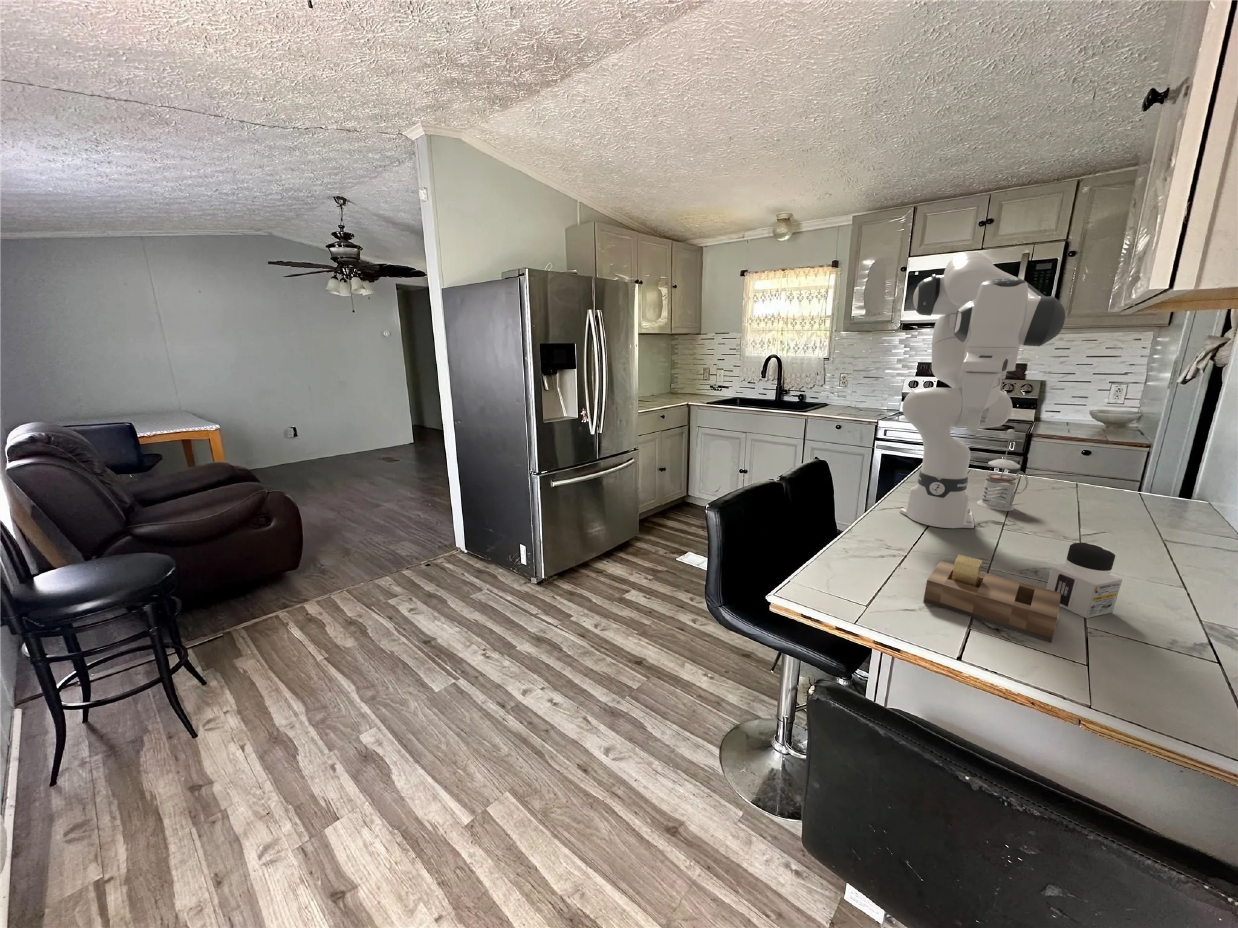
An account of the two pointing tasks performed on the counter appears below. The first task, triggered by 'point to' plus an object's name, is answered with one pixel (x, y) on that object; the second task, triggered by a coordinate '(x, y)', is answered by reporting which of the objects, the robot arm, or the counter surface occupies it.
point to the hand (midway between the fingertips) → (976, 427)
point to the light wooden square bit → (966, 570)
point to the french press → (1001, 485)
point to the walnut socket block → (996, 601)
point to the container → (1086, 580)
